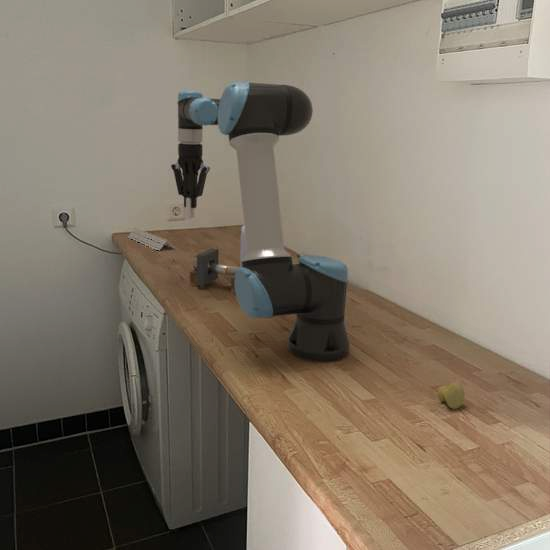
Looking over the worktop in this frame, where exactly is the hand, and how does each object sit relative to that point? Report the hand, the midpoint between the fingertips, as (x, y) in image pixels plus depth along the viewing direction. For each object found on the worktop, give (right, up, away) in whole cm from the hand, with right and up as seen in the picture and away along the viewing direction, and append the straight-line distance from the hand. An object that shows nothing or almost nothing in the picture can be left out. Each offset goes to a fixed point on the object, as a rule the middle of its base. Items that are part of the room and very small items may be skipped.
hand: (190, 217), depth 186 cm
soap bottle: (+20, -17, +26) cm, 37 cm away
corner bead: (-26, -6, +59) cm, 65 cm away
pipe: (+9, -18, +1) cm, 20 cm away
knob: (+63, -45, -68) cm, 103 cm away
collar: (+5, -21, +3) cm, 22 cm away
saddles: (+9, -23, +2) cm, 25 cm away
